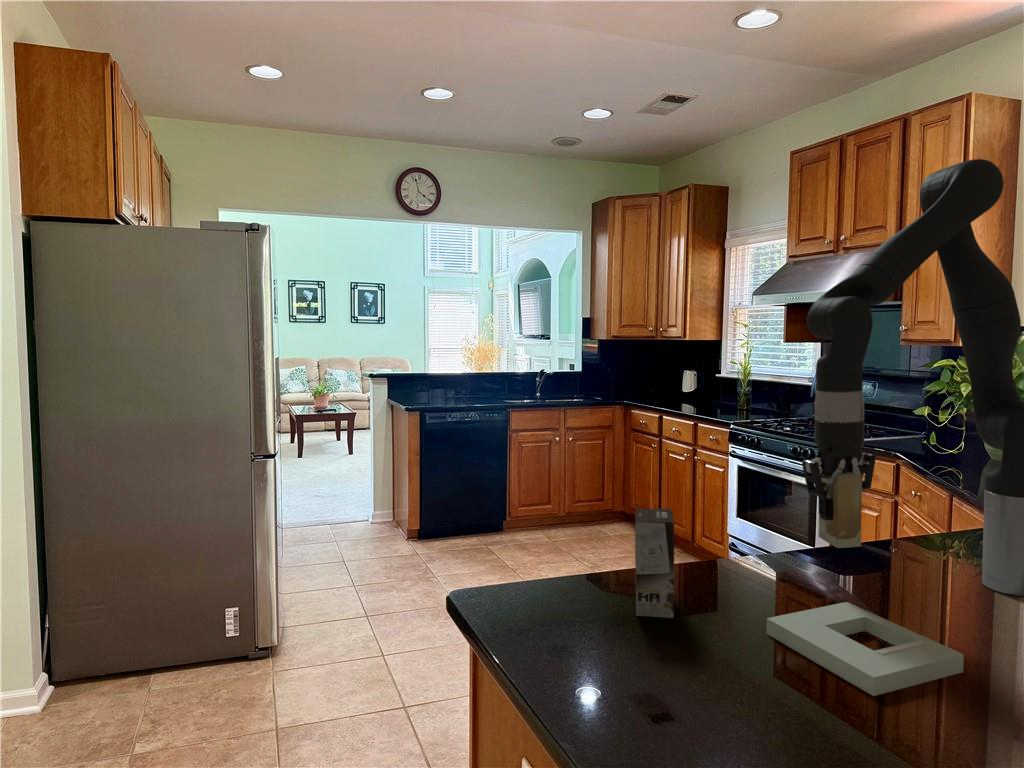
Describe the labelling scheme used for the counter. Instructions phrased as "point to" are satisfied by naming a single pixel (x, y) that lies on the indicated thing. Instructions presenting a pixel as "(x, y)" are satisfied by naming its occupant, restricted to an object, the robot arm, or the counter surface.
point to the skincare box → (844, 512)
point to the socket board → (864, 648)
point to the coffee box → (654, 562)
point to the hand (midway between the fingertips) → (839, 516)
